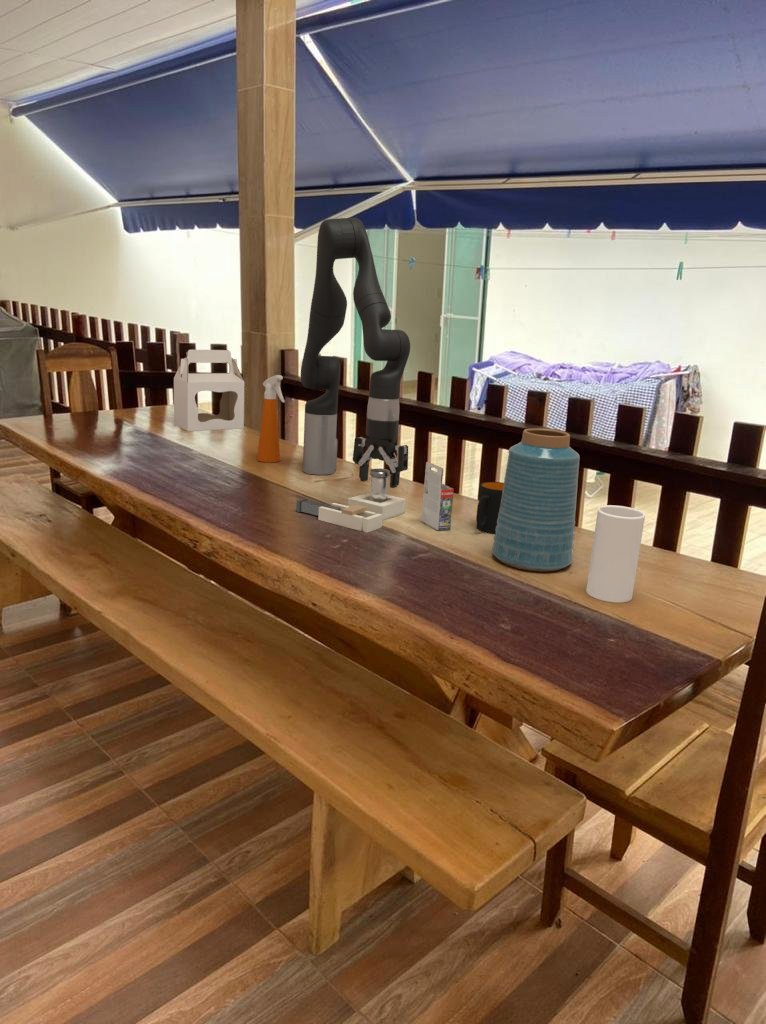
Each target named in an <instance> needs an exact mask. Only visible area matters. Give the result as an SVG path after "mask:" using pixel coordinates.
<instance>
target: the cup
mask: <svg viewBox="0 0 766 1024" xmlns="http://www.w3.org/2000/svg"><path fill="white" fill-rule="evenodd" d="M645 519H646V513H645V512H644V511H642V510H639V509H636V508H633V507H628V506H624V505H612V504H608V505H601V506H599V507H598V508H597V513H596V520H595V527H594V532H593V533H594V535H593V542H592V546H591V547H592V549H591V556H590V562H589V569H588V577H587V583H586V584H587V585H586V589H585V590H586V594H588V596H590V597H592V598H594V599H596V600H598V601H603V602H607V603H615V604H617V603H619V604H621V603H627V602H628V603H629V602H630V601H631V600H632V598H633V595H634V587H635V581H636V575H637V569H638V564H639V563H638V562H639V556H640V550H641V544H642V543H641V542H642V540H643V539H642V537H643V532H644V531H643V530H644V525H645Z"/></svg>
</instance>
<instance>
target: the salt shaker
mask: <svg viewBox="0 0 766 1024" xmlns="http://www.w3.org/2000/svg"><path fill="white" fill-rule="evenodd" d="M369 474H370V476H371V478H370V479H371V480H370V492H371V493H370V501H373V502H378V503H382V502H386V501H387V495H388V487H389V486H388V485H389V484H388V483H389V477H390V476H391V470H389V469H386V468H371V469H370V473H369Z"/></svg>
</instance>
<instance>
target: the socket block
mask: <svg viewBox="0 0 766 1024" xmlns="http://www.w3.org/2000/svg"><path fill="white" fill-rule="evenodd" d="M370 493H371V491H369V492H366V493H361V494H359V495H356V496H352V497H349V498H347V506H353V505H361V506H365V507H367V511H370V512H374V513H376V514H382V515H383V519H382V522H384V521H386V520H389V519H393V518H395V517H397V516H400V515H403V514H406V505H407V504H406V502H407V499H406V498H402V497H397V496H393V495H389V494H387V501H386V502H382V503H378V502H373V501H370Z"/></svg>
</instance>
